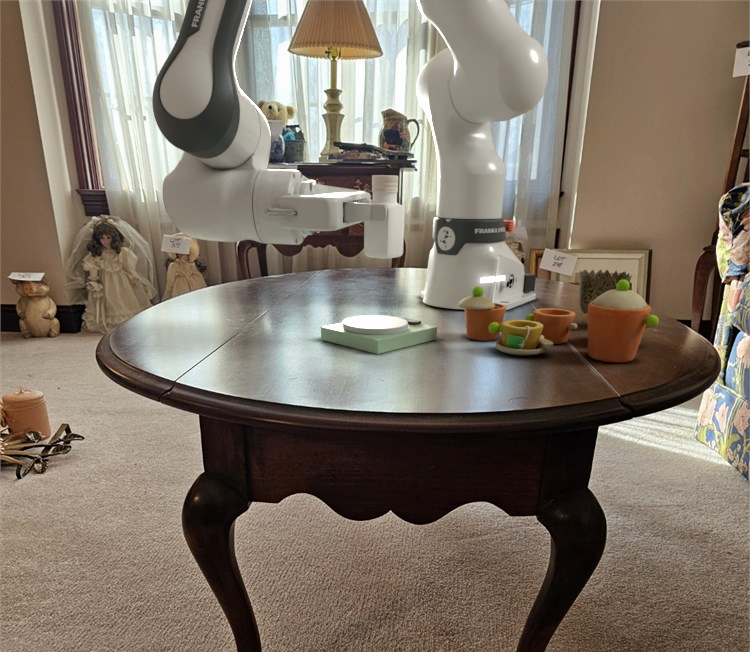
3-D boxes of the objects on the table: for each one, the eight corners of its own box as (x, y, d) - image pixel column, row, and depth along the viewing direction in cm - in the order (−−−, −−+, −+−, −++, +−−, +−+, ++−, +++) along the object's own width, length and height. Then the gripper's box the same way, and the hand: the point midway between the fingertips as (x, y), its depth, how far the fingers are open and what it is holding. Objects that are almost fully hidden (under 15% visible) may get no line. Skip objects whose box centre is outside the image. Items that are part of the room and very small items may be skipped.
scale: (380, 327, 99) (380, 309, 98) (436, 339, 92) (437, 320, 91) (320, 339, 91) (320, 320, 90) (377, 354, 84) (377, 334, 83)
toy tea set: (641, 339, 94) (655, 268, 89) (663, 368, 80) (681, 286, 76) (458, 330, 98) (463, 262, 93) (450, 356, 84) (455, 277, 80)
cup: (625, 333, 97) (635, 277, 94) (573, 330, 98) (582, 274, 95) (618, 323, 104) (628, 270, 100) (570, 320, 105) (578, 268, 101)
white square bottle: (362, 257, 84) (362, 175, 80) (379, 254, 87) (381, 175, 83) (387, 259, 82) (389, 175, 78) (404, 257, 85) (407, 175, 81)
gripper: (256, 182, 74) (375, 184, 72) (308, 179, 92) (405, 181, 90) (259, 241, 77) (374, 246, 74) (309, 228, 95) (403, 231, 92)
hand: (391, 211), depth 82 cm, fingers closed on white square bottle, 5 cm apart
